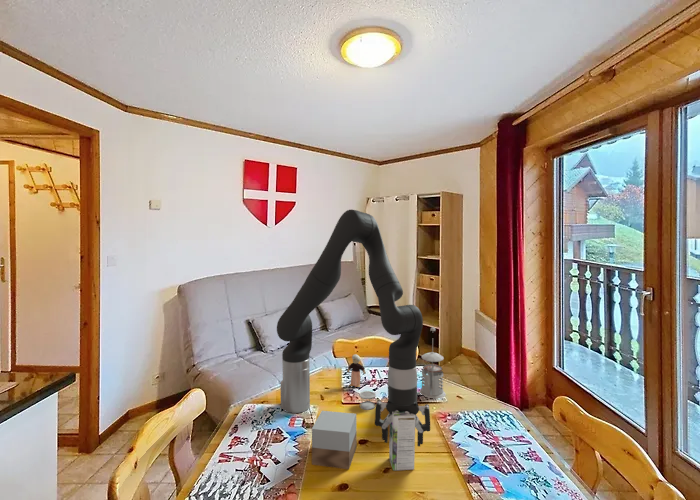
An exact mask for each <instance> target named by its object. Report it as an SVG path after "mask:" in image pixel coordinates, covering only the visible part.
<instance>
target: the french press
mask: <svg viewBox="0 0 700 500" xmlns="http://www.w3.org/2000/svg"><path fill="white" fill-rule="evenodd" d="M429 331H430V332H431V331H432V332H436V328H435V327H430V330H429ZM431 343H432V345H431V346H432V347H431V348H432V349H431V350H432V351H431V352H427V353H424V354H422V355H421V359H422V360H423V361H426V362H430V363H431V364H424V365H423V366H422V370H421V389H420V390H419V391H420V393H421V394H422V395H424V396H425V397H429V398H428V399H430V398H433V399H432V400H438V398H440V399H442V398H445V397H446V395H447V394H446V392H445V391H444V388H443V387H444V372H443V367H442V366H440V365H438V364H434V363H437V362H438V363H439V362H441V361H442V362H443V360H444V359H445V358H444V356H443V355H441V353H440V354H439V353H437V352H434V339H432V342H431ZM425 397H424V398H425Z"/></svg>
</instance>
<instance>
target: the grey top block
mask: <svg viewBox="0 0 700 500" xmlns="http://www.w3.org/2000/svg"><path fill="white" fill-rule="evenodd" d="M356 431H357V413H353V412H352V413H351V412H343V411H342V412H341V411H330V410H329V411H328V410H321V411H320V413H319V415H318V417H317V418H316V421H315V422H314V424H313V426H312V427H311V449H312V448H321V449H330V450H339V451H348V452H350V449H351V446H352V443H353V440H354V437H355V434H356Z"/></svg>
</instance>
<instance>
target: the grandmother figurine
mask: <svg viewBox="0 0 700 500" xmlns="http://www.w3.org/2000/svg"><path fill="white" fill-rule="evenodd" d="M351 359H352V363H350V364H349V366H348V367H347V369H346V372H347V373H350V383H349V385H348V386H354V388H356V387H360V388H361V372H362V373H363V375H366V374H367V373H366V372H367V371H366V369H365V367H364V366H363V365H362V364H361V363H359V362H360V361H362V358H361V357H360V356H359V355H358V354H356V353H355V354H352V356H351Z"/></svg>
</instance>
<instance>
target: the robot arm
mask: <svg viewBox="0 0 700 500" xmlns="http://www.w3.org/2000/svg"><path fill="white" fill-rule="evenodd" d="M352 242H354V243H359V244H361V245H362V246H363V248H364V250H365V251H366V252H367V255H368V278H369V281H370V283H371V285H372V287H373V288H372V289H373V290H374V291H373V292H374V293H375V294H376V297H377V301H378V305H379V311H380V312H379V313H380V314H379V315H380V320H381V325H382V327H383V329H384V330H385V332H386V333H388V334H389V335H391V336H398V335H399V338H397V339H396V340H394V341H393V342H391V343H390V345H389V347H388V369H387V402H382V400H380V399H378V400H377V401H376V403H375V405H376V407H375V413H374V414H375V415H374V426H376V427H380V428H381V440H382V441H384V442H383V443H388V439H389V434H388V433H389V424H391V422H392V417H393V413H399V412H405V414H409V415H411V413H412V414H415V430H417V438H416V439H417V442H416V443H417V447H421V445H423V444H424V432H430V431H431V416H430V415H431V413H430V412H431V411H430V410H431V409H430V405H429V404H428V403H426V404H424V405H419V403H418V371H417V349H418V346H419V342H420V338H421V335H422V332H423V331H422V330H423V327H424V320H423V319H424V318H423V315H422V312H421V310H420V309H419V307H417V305H414V304H407V305H406V304H404V305H398V306H397V305H396V302H397V301H399V300H400V299H401V298H402V297H403V295H404V291H403V287H402V286H401V283H400V281H399V279H398V277H397V275H396V273H395V271H394V269H393V267H392V264H391V263H390V260H389V257H388V255H387V250H386V246H385V244H384V241H383V237H382V234H381V230H380V228H379V224H378V221H377V219H376V218H375V217H374V216H373V215H371V214H370V213H367V212H363V211H359V210H357V209H356V210H355V209H347V210H346V211H344V212H343V213H342V215H340V217H339V218H338V220H337V222H336V224H335V227H334V228H333V231H332V232H331V235H330V237H329V239H328V241H327V243H326V245H325V247H324V249H323V250H322V252H321V254H320V256H319V257H318V259H317V261H316V262H315V264H314V265H313V267H312V268H311V270H310V272H309V274H308V275H307V276H306V279H305V281H304V282H303V284H302V285H301V287H300V288H299V290H298V292H297V293H296V295H295V297H293V298H294V299H293V300H292V302H291V303H290V304H289V305H288V306H287V308H286V309H285V311H283V313H282V314H281V316H280V317H279V318H278V320H277V322H276V323H277V324H276V333H277V337H279V339H280V340H282V341H285V342H288V344H287V346H286V347H284V349H283V350H282V353H281V356H282V357H281V359H282V363H281V364H282V380H281V381H280V410H281V409H284V410H283V411H285V410H286V411H288V412H287V413H289V412H292V413H291V414H299V413H303V412H306V411H307V410H309V409H310V406H311V405H310V404H311V403H310V402H311V394H310V393H311V384H310V383H311V381H310V379H311V378H310V366H311V365H310V354H311V351H312V348H313V347H312V346H313V345H312V344H313V321H312V318H311V316H310V314H311V313H312V312H313V311H314V310H315V309H316V308H317V307H319V306H320V305H321V304H322V303H323V302H325V300H327V298H329V296H330V295H331V294H332V293H333V291H334V289H335V288H336V287H337V284H338V283H339V281H340V279H341V275H342V257H343V255H344V253H345V252H346V249H347V248H348V246H349V245H350V243H352ZM385 409H386V410H387V412H388V414H387V416H386V417H385V418H384V419H382V418H381V416H382V412H383V411H384V410H385ZM286 411H285V412H286ZM392 412H393V413H392ZM419 412H420V413H421V415H422V416H424V423H422V422H421V421H420V418H419V416H418V415H417V414H418V413H419Z"/></svg>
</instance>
